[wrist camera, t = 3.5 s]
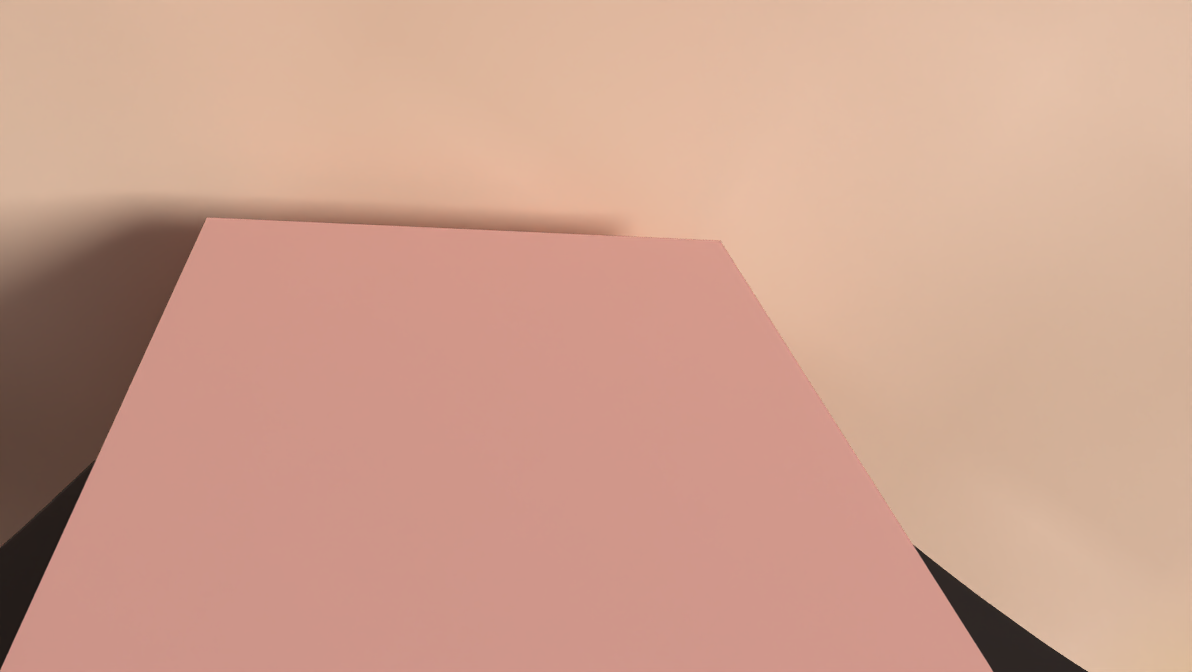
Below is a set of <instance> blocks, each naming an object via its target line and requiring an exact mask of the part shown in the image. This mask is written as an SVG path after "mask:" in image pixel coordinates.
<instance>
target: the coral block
mask: <svg viewBox="0 0 1192 672" xmlns="http://www.w3.org/2000/svg"><path fill="white" fill-rule="evenodd" d="M0 672H993V671H992V669H991V667H990V666H989V664H988V663H987V661H986V659H985V658H984V656H983V655H982V653H981V652H980V650H979V648H978V647H977V645H976V644H975V642H974V641H973V639H972V637H971V636H970V634H969V633H968V631H967V629H966V628H965V626H964V625H963V623H962V622H961V620H960V618H959V617H958V615H957V614H956V612H955V611H954V609H953V607H952V606H951V604H950V603H949V601H948V599H947V598H946V596H945V595H944V593H943V592H942V590H941V588H940V587H939V585H938V584H937V582H936V581H935V579H934V577H933V576H932V574H931V573H930V571H929V569H928V568H927V566H926V565H925V563H924V562H923V560H922V558H921V557H920V555H919V554H918V552H917V550H916V549H915V547H914V546H913V544H912V543H911V541H910V539H909V538H908V536H907V535H906V533H905V532H904V530H903V528H902V527H901V525H900V524H899V522H898V520H897V519H896V517H895V516H894V514H893V513H892V511H891V509H890V508H889V506H888V505H887V503H886V502H885V500H884V498H883V497H882V495H881V494H880V492H879V490H878V489H877V487H876V486H875V484H874V483H873V481H872V479H871V478H870V476H869V475H868V473H867V472H866V470H865V468H864V467H863V465H862V464H861V462H860V460H859V459H858V457H857V456H856V454H855V453H854V451H853V449H852V448H851V446H850V445H849V443H848V442H847V440H846V438H845V437H844V435H843V434H842V432H841V430H840V429H839V427H838V426H837V424H836V423H835V421H834V419H833V418H832V416H831V415H830V413H829V412H828V410H827V408H826V407H825V405H824V404H823V402H822V400H821V399H820V397H819V396H818V394H817V393H816V391H815V389H814V388H813V386H812V385H811V383H810V381H809V380H808V378H807V377H806V375H805V374H804V372H803V370H802V369H801V367H800V366H799V364H798V363H797V361H796V359H795V358H794V356H793V355H792V353H791V351H790V350H789V348H788V347H787V345H786V344H785V342H784V340H783V339H782V337H781V336H780V334H779V333H778V331H777V329H776V328H775V326H774V325H773V323H772V321H771V320H770V318H769V317H768V315H767V314H766V312H765V310H764V309H763V307H762V306H761V304H760V303H759V301H758V299H757V298H756V296H755V295H754V293H753V291H752V290H751V288H750V287H749V285H748V284H747V282H746V280H745V279H744V277H743V276H742V274H741V273H740V271H739V269H738V268H737V266H736V265H735V263H734V261H733V260H732V258H731V257H730V255H729V254H728V252H727V250H726V249H725V247H724V246H723V244H722V243H721V241H718V240H696V239H674V238H652V237H630V236H608V235H585V234H563V233H541V232H519V231H497V230H475V229H453V228H430V227H408V226H386V225H364V224H342V223H320V222H298V221H275V220H253V219H231V218H209V217H207V218H206V220H205V223H204V225H203V227H202V229H201V231H200V234H199V236H198V238H197V240H196V242H195V245H194V247H193V249H192V251H191V253H190V256H189V258H188V260H187V262H186V264H185V266H184V269H183V271H182V273H181V275H180V277H179V280H178V282H177V284H176V286H175V288H174V291H173V293H172V295H171V297H170V299H169V302H168V304H167V306H166V308H165V310H164V313H163V315H162V317H161V319H160V321H159V323H158V326H157V328H156V330H155V332H154V334H153V337H152V339H151V341H150V343H149V345H148V348H147V350H146V352H145V354H144V356H143V359H142V361H141V363H140V365H139V367H138V369H137V372H136V374H135V376H134V378H133V380H132V383H131V385H130V387H129V389H128V391H127V394H126V396H125V398H124V400H123V402H122V405H121V407H120V409H119V411H118V413H117V415H116V418H115V420H114V422H113V424H112V426H111V429H110V431H109V433H108V435H107V437H106V440H105V442H104V444H103V446H102V448H101V451H100V453H99V455H98V457H97V459H96V462H95V464H94V466H93V468H92V470H91V472H90V475H89V477H88V479H87V481H86V483H85V486H84V488H83V490H82V492H81V494H80V497H79V499H78V501H77V503H76V505H75V508H74V510H73V512H72V514H71V516H70V518H69V521H68V523H67V525H66V527H65V529H64V532H63V534H62V536H61V538H60V540H59V543H58V545H57V547H56V549H55V551H54V554H53V556H52V558H51V560H50V562H49V564H48V567H47V569H46V571H45V573H44V575H43V578H42V580H41V582H40V584H39V586H38V589H37V591H36V593H35V595H34V597H33V600H32V602H31V604H30V606H29V608H28V611H27V613H26V615H25V617H24V619H23V621H22V624H21V626H20V628H19V630H18V632H17V635H16V637H15V639H14V641H13V643H12V646H11V648H10V650H9V652H8V654H7V657H6V659H5V661H4V663H3V665H2V667H1V670H0Z"/></svg>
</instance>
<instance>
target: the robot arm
mask: <svg viewBox="0 0 1192 672" xmlns="http://www.w3.org/2000/svg"><path fill="white" fill-rule="evenodd" d="M95 462H96V460H95V461H94V462H93V463H91V464H90V465H89V466H88V467H87V468H86V469H85V470H84V471H83V472H82V473H81V474H80V475H79V476H78V477H76V478H75V479H74V480H73V481H72V482H71V483H70V484H69V485H68V486H67V487H66V488H65V489H64V490H63V491H62V492H61V493H59V494H58V495H57V496H56V497H55V498H54V499H53V500H52V501H51V502H50V503H49V504H48V505H47V506H46V507H44V508H43V509H42V510H41V511H40V512H39V513H38V514H37V515H36V516H35V517H34V518H33V519H32V520H30V521H29V522H28V523H27V524H26V525H25V526H24V527H23V528H22V529H21V530H20V531H18V532H17V533H16V534H15V535H14V536H13V537H12V538H11V539H9V540H8V541H7V542H6V543H5V544H4V545H3V546H2V547H0V670H1V667H2V665H3V663H4V661H5V659H6V657H7V654H8V652H9V650H10V648H11V646H12V643H13V641H14V639H15V637H16V635H17V632H18V630H19V628H20V626H21V624H22V621H23V619H24V617H25V615H26V613H27V611H28V608H29V606H30V604H31V602H32V600H33V597H34V595H35V593H36V591H37V589H38V586H39V584H40V582H41V580H42V578H43V575H44V573H45V571H46V569H47V567H48V564H49V562H50V560H51V558H52V556H53V554H54V551H55V549H56V547H57V545H58V543H59V540H60V538H61V536H62V534H63V532H64V529H65V527H66V525H67V523H68V521H69V518H70V516H71V514H72V512H73V510H74V508H75V505H76V503H77V501H78V499H79V497H80V494H81V492H82V490H83V488H84V486H85V483H86V481H87V479H88V477H89V475H90V472H91V470H92V468H93V466H94V464H95ZM913 546H914V545H913ZM914 547H915V546H914ZM915 549H916V550H917V552H918V554H919V555H920V557H921V558H922V560H923V562H924V563H925V565H926V566H927V568H928V569H929V571H930V573H931V574H932V576H933V577H934V579H935V581H936V582H937V584H938V585H939V587H940V588H941V590H942V592H943V593H944V595H945V596H946V598H947V599H948V601H949V603H950V604H951V606H952V607H953V609H954V611H955V612H956V614H957V615H958V617H959V618H960V620H961V622H962V623H963V625H964V626H965V628H966V629H967V631H968V633H969V634H970V636H971V637H972V639H973V641H974V642H975V644H976V645H977V647H978V648H979V650H980V652H981V653H982V655H983V656H984V658H985V659H986V661H987V663H988V664H989V666H990V667H991V669H992V671H993V672H1088V671H1086V670H1084V669H1083V668H1081V667H1080V666H1078V665H1076V664H1075V663H1073V662H1072V661H1070V660H1069V659H1067V658H1066V657H1064V656H1063V655H1061V654H1060V653H1058V652H1057V651H1055V650H1054V649H1052V648H1051V647H1049V646H1048V645H1046V644H1045V643H1044V642H1042V641H1041V640H1039V639H1038V638H1036V637H1035V636H1034V635H1032V634H1031V633H1029V632H1028V631H1027V630H1025V629H1024V628H1022V627H1021V626H1020V625H1018V624H1017V623H1015V622H1014V621H1013V620H1011V619H1010V618H1009V617H1007V616H1006V615H1004V614H1003V613H1002V612H1000V611H999V610H997V609H996V608H995V607H993V606H992V605H991V604H989V603H988V602H986V601H985V600H984V599H982V598H981V597H979V596H978V595H977V594H976V593H974V592H973V591H972V590H970V589H969V588H968V587H966V586H965V585H964V584H962V583H961V582H960V581H958V580H957V579H956V578H955V577H953V576H952V575H951V574H949V573H948V572H947V571H946V570H944V569H943V568H942V567H940V566H939V565H938V564H937V563H935V562H934V561H933V560H932V559H930V558H929V557H928V556H926V555H925V554H924V553H923V552H922V551H920V550H919V549H918V548H917V547H915Z"/></svg>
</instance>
